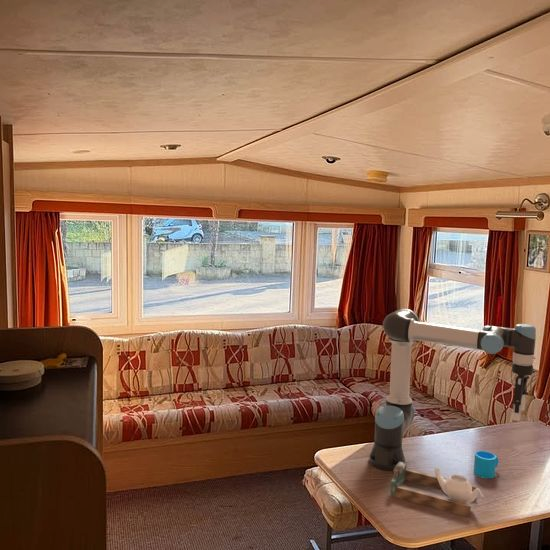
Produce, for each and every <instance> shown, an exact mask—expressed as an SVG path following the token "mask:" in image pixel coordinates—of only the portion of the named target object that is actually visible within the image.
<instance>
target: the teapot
mask: <svg viewBox="0 0 550 550" xmlns="http://www.w3.org/2000/svg"><path fill="white" fill-rule="evenodd" d="M434 473H435V476H437V479H438V482H439V484H440V486H441V488H442V489H441V490H442V491H443V492H444V493H445V494H446V495H447V496H448V497H449V499H451V500H455V501H458V502H462V503H466V504H471V503H473V502H474V501H475V500H476V499H477V496H478V493H479V496H480V497H482V498H485V496H484V493H482V491H481V489H480V488H478V487H477V488H476V489H475V490H474V491H473V492H472V486H471V485H472V484H471V482H470V481H469V479H468V478H467V477H465V476H464V475H460V474H452V475H450V476H449V477H448V478H446V479H447V480H445V479H444V478H445V477H443V476H442V474H441V470H440V469H439V468H434Z"/></svg>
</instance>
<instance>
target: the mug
mask: <svg viewBox="0 0 550 550" xmlns="http://www.w3.org/2000/svg"><path fill="white" fill-rule="evenodd" d="M473 461H474V462H473V474H474V473H475V474H476V475H475V474H474V475H475V476H476V477H479V476H480V477H479V478H481V477H483V478H482V479H486V478H491V479H493V478H495V475H496V468H497V467H498V465H499V457H498V456H497V455H495V453H493V452H490V451H485V450H477V451H475V453H474V460H473Z"/></svg>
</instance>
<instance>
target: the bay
mask: <svg viewBox="0 0 550 550" xmlns="http://www.w3.org/2000/svg"><path fill="white" fill-rule="evenodd" d="M392 472H393V473H394V476H393V477H392V479H391V481H390V497H393V498H398V499H401V500H405V501H406V502H407V501H408V502H412V503H414V504H415V503H416V504H419V505H422V506H426V507H429V508H433V509H437V510H441V511H444V512H449V513H452V514H455V515H459V516H463V517H466V518H470V517H471V509H472V508H471V507H472V504H471V503H462V502H458V501H455V500H451V499H450V498H446V497H443V496H440V495H439V496H438V495H435V494H431V493H427V492H424V491H419V490H416V489H412V488H409V487H405V486H402V485H403V483H404V481H409V482H412V483H416V484H420V483H421V484H420V485H424V484H425V486H428V485H429V486H428V487H433V488H435V487H436V489H439V490H442V488H441V486H440V484H439V482H438V479H437V476H436V475H433V474H430V473H426V472H421V471H417V470H413V469H408V468H407V463H406V462H405V463H403V462H398V464H397V465H396V467H395V468H394V470H393V471H392ZM443 478H444V479H445V480H447V479H448V478H445V477H443ZM471 486H472V492H473V491H474V490H475V489H476V488H478V486H477V485H476V484H471Z"/></svg>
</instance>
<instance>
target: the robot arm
mask: <svg viewBox="0 0 550 550" xmlns="http://www.w3.org/2000/svg"><path fill="white" fill-rule="evenodd" d="M382 328H383V332H384V334H385V335H386V336H387V337H388V341H389V342H390V343H391V353H390V375H389V376H390V377H389V394H388V395H387V396H386V398H385V406H380V407H378V408H377V409H376V411H375V416H374V442H373V446H372V448H371V451H370V453H369V456H368V458H369V459H368V462H369V463H370V465H371V466H373V467H374V468H377V469H378V470H379V469H380V470H383V471H392V472H393V470H394V468H395V467H396V465H397V464H398V462H403V463H405V464H406V459H405V458H406V457H405V454H404V450H403V433H404V431H405V430H406V429H407V428H408V427H409V426H410V425H412V422H413V420H414V417H415V413H416V411H415V407H414V406H413V399H412V398H411V397H410V390H411V368H412V367H411V366H412V345H413V344H414V343H415V342H416V341H418V342H419V341H420V342H425V343H431V344H432V343H433V344H440V345H446V346H453V347H460V348H467V349H472V350H478V351H479V350H480V351H483V352H485V353H487V354H488V355H489V354H490V355H493V354H494V355H495V354H497V353H499V352H500V351H501V350H502V349H503V347H506V348H513V352H512V360H511V361H512V363H511V366H512V367H511V372H512V373H513V374H516V377H515V379H514V380H515V384H514V394H513V401H511V405H513V407H512V416H511V417H512V418H511V419H512V421H517V422H520V421H521V414H522V411H523V412H525V409H526V396H527V395H528V393H529V392H528V390H527V388H528V387H527V385H528V376H532V375H533V371H534V365H533V364H534V360H536V356H534V355H535V349H536V339H537V337H536V334H537V332H536V331H537V328H536V327H535V326H534V325H532V324H528V323H517V324H516V325H515V326H514V328H510V327H502V326H496V325H495V326H494V325H484V326H483V328H482V330H479V329H473V328H465V327H459V326H458V327H457V326H451V325H450V326H449V325H443V324H435V323H428V322H423V321H422V322H421V321H419V317H418V315H417V314H416V313H415V312H414V311H413V310H411V309H410V308H409V309H408V308H400V309H397V310H395V311H393V312H391V313H389V314H387V315H386V317H385V318H384V320H383V322H382Z"/></svg>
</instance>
